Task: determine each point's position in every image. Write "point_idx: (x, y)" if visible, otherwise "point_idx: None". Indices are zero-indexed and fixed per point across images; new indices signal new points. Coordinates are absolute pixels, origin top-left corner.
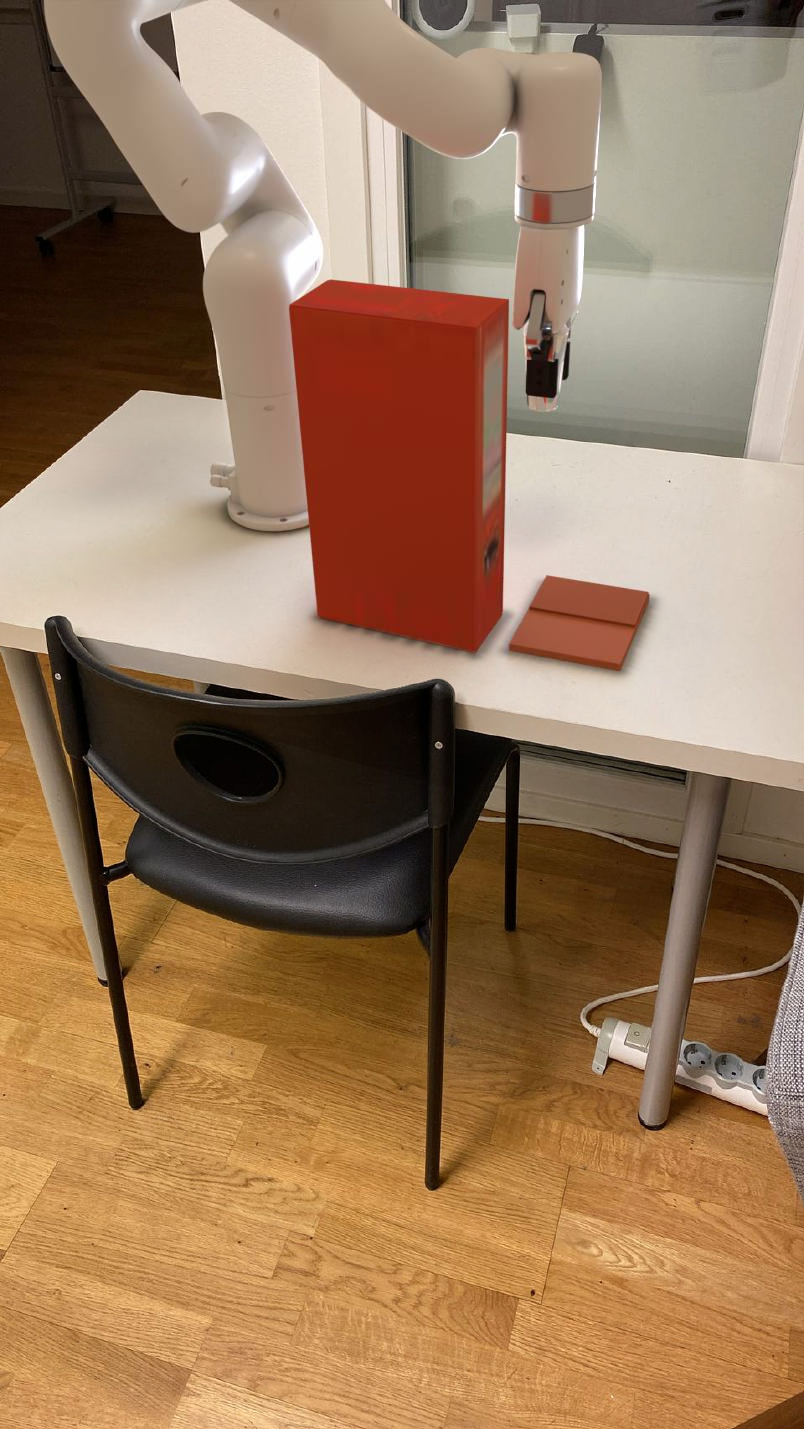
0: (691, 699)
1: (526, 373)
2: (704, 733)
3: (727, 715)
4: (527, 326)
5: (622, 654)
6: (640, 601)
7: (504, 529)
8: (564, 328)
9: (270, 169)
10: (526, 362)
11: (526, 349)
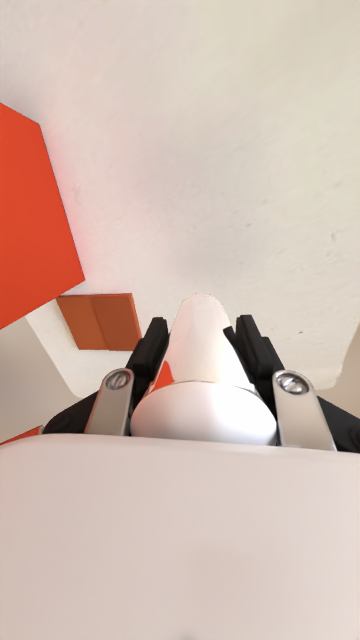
0: (83, 372)
1: (143, 339)
2: (68, 377)
3: (83, 382)
4: (162, 421)
5: (86, 348)
6: (130, 349)
7: (38, 307)
8: None
9: None
10: (136, 355)
11: (162, 361)
